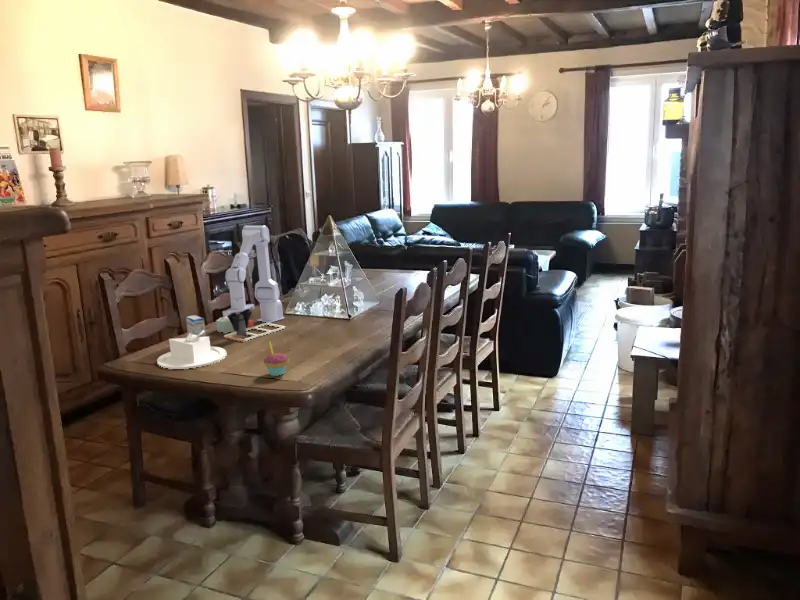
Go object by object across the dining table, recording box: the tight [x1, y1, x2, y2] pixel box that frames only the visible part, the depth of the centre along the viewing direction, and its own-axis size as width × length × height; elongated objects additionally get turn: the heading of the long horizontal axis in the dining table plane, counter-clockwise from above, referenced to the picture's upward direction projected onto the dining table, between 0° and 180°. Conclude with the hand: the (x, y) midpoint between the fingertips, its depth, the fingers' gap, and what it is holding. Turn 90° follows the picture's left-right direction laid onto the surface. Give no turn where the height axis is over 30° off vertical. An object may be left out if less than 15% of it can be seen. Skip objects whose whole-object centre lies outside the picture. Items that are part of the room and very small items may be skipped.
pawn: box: [236, 312, 246, 336], centre depth 271 cm, size 4×4×9 cm
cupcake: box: [263, 340, 290, 377], centre depth 225 cm, size 9×8×12 cm
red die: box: [248, 319, 255, 328], centre depth 286 cm, size 3×3×3 cm
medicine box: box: [185, 314, 207, 337], centre depth 274 cm, size 8×4×9 cm, turn 42°
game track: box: [223, 322, 287, 343], centre depth 277 cm, size 23×13×1 cm, turn 141°
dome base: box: [215, 316, 235, 334], centre depth 283 cm, size 8×10×5 cm
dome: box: [221, 316, 230, 321], centre depth 283 cm, size 6×6×4 cm
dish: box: [156, 330, 228, 370], centre depth 246 cm, size 25×25×11 cm
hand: (240, 329), depth 271 cm, fingers closed on pawn, 4 cm apart
